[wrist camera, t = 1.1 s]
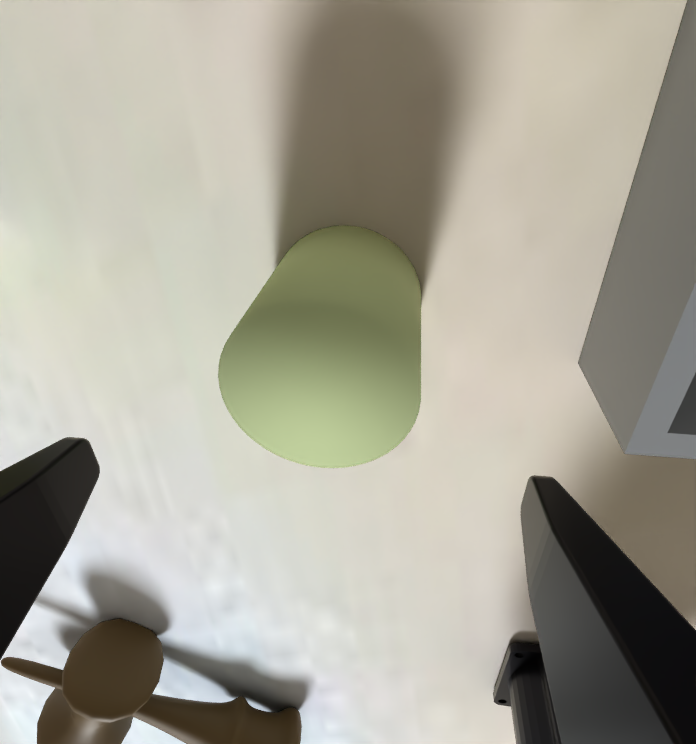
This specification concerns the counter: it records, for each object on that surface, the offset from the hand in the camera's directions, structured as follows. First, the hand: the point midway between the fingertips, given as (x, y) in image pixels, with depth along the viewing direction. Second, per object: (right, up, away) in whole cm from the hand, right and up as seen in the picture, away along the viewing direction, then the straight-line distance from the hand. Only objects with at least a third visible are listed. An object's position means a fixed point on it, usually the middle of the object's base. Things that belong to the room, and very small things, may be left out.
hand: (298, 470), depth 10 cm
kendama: (-11, -19, +24) cm, 33 cm away
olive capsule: (+1, +5, +7) cm, 8 cm away
